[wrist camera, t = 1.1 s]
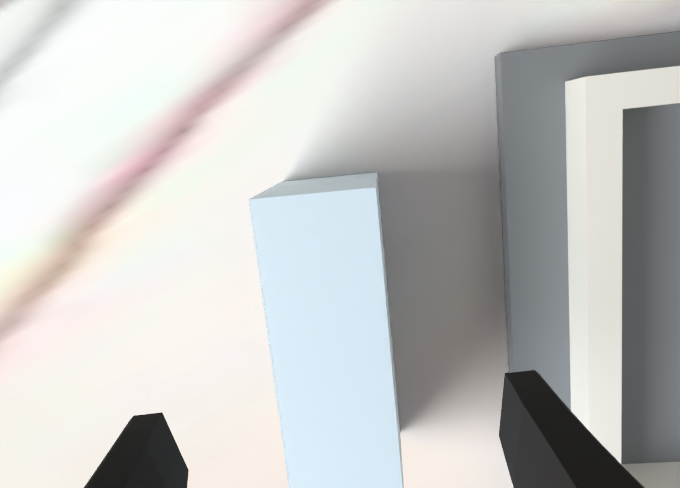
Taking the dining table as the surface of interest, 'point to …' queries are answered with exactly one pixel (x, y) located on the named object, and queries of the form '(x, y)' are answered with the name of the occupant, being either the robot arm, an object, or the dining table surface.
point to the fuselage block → (329, 330)
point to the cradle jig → (597, 237)
